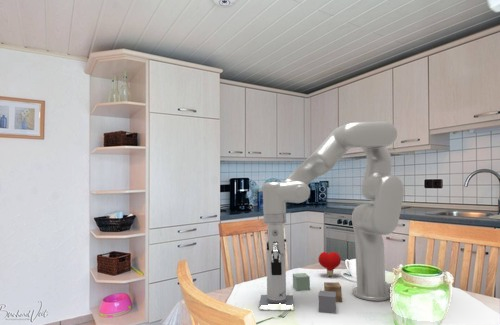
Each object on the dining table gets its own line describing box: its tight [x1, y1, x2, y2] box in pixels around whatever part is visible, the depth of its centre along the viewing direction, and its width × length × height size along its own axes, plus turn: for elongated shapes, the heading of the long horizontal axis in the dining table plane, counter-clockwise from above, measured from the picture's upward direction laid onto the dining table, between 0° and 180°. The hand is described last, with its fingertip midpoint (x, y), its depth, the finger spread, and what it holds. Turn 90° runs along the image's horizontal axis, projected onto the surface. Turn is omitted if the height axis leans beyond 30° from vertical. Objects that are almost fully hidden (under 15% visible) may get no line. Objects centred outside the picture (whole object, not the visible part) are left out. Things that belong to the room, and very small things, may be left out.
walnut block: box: [323, 281, 343, 303], centre depth 108 cm, size 5×5×5 cm
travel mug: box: [266, 238, 287, 304], centre depth 106 cm, size 6×7×20 cm
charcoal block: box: [318, 290, 337, 315], centre depth 100 cm, size 5×5×5 cm
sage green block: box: [292, 272, 311, 292], centre depth 120 cm, size 5×5×5 cm
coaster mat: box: [258, 294, 295, 307], centre depth 105 cm, size 11×11×1 cm
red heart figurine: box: [318, 251, 342, 277], centre depth 135 cm, size 9×7×10 cm
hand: (276, 270), depth 106 cm, fingers open, 9 cm apart
